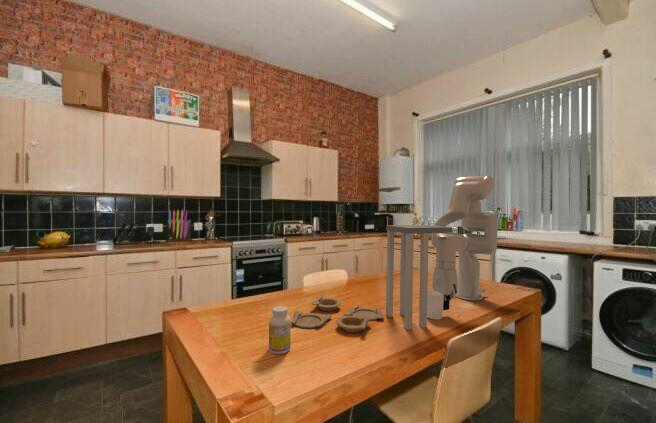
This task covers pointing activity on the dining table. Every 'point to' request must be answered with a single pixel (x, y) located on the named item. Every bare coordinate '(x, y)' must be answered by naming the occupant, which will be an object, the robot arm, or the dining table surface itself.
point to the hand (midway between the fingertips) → (444, 309)
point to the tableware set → (346, 322)
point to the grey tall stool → (409, 270)
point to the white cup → (435, 304)
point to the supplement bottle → (279, 331)
